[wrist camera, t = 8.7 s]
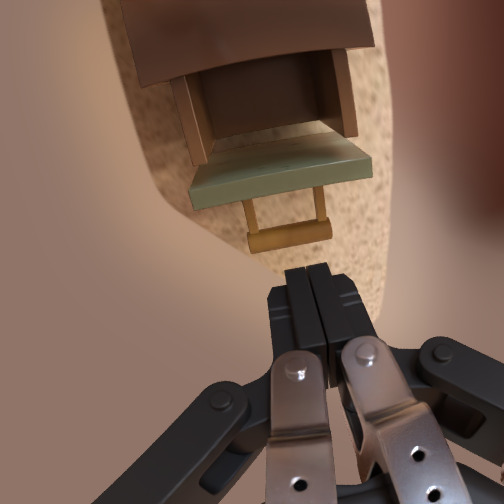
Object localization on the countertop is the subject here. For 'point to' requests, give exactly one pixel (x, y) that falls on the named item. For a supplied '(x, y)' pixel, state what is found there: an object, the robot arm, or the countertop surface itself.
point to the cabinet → (236, 32)
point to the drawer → (276, 152)
